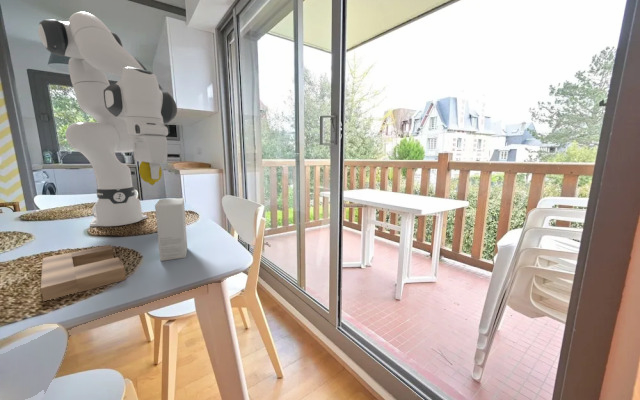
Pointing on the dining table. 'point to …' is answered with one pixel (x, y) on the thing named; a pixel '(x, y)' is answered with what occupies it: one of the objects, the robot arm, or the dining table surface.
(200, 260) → the dining table surface
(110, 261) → the notched board
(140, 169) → the lemon
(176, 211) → the skincare box
